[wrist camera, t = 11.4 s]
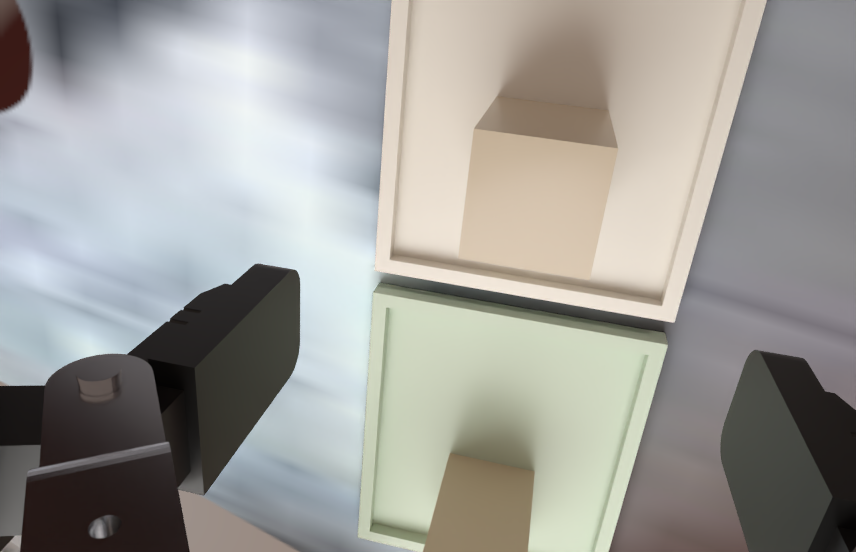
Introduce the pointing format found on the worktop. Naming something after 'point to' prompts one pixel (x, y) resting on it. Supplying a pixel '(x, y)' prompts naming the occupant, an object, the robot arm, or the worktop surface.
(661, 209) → the bin
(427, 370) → the bin
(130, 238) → the worktop surface
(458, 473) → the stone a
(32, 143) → the worktop surface
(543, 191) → the beige block
